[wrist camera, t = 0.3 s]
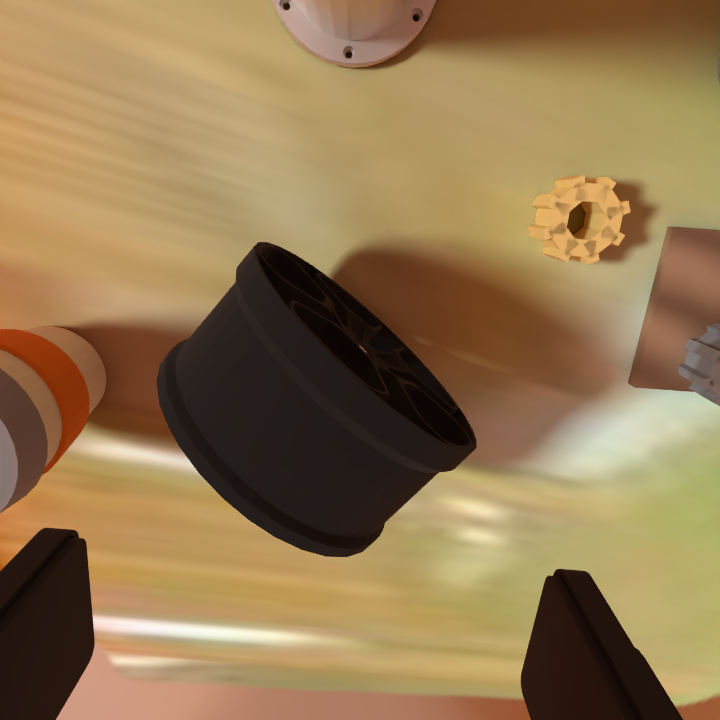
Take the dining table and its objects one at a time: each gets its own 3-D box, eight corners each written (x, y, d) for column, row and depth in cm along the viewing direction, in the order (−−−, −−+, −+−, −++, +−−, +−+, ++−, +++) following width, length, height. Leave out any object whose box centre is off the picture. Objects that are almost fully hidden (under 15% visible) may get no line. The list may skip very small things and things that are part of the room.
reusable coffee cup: (82, 458, 49) (-33, 566, 35) (-37, 380, 46) (-214, 462, 32) (152, 365, 46) (58, 441, 32) (29, 276, 43) (-133, 315, 29)
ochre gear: (536, 174, 41) (552, 172, 37) (614, 180, 41) (638, 179, 37) (522, 255, 43) (536, 260, 39) (597, 260, 43) (618, 266, 39)
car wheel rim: (449, 381, 46) (511, 509, 27) (375, 454, 49) (385, 619, 30) (280, 232, 42) (215, 261, 23) (209, 319, 45) (96, 410, 25)
